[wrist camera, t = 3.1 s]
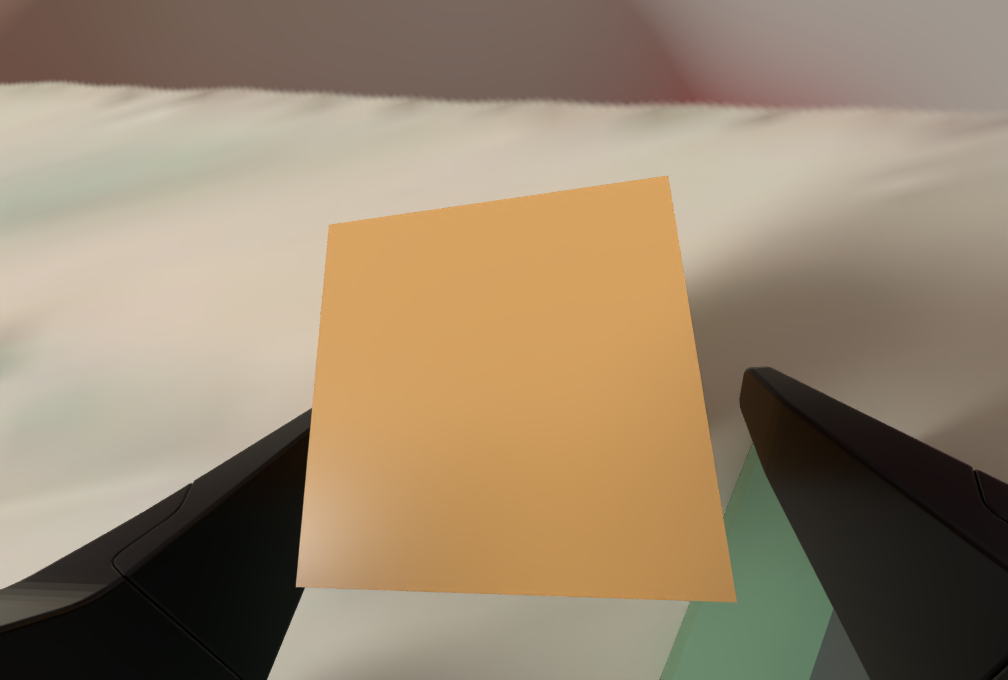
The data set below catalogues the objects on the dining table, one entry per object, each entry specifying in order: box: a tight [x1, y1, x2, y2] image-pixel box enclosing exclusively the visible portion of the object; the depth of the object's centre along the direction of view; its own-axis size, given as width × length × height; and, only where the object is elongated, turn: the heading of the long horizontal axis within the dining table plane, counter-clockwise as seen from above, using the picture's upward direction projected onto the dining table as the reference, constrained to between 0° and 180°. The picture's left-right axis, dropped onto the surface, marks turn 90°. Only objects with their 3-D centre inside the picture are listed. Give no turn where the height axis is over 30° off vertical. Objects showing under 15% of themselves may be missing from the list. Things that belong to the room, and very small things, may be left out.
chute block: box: [296, 176, 737, 602], centre depth 11 cm, size 5×5×12 cm
